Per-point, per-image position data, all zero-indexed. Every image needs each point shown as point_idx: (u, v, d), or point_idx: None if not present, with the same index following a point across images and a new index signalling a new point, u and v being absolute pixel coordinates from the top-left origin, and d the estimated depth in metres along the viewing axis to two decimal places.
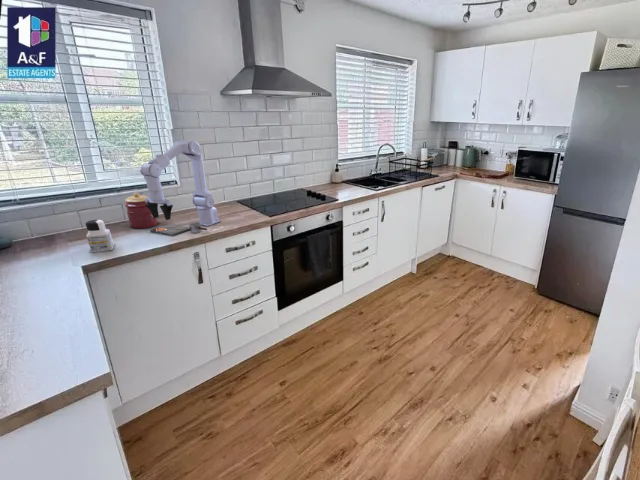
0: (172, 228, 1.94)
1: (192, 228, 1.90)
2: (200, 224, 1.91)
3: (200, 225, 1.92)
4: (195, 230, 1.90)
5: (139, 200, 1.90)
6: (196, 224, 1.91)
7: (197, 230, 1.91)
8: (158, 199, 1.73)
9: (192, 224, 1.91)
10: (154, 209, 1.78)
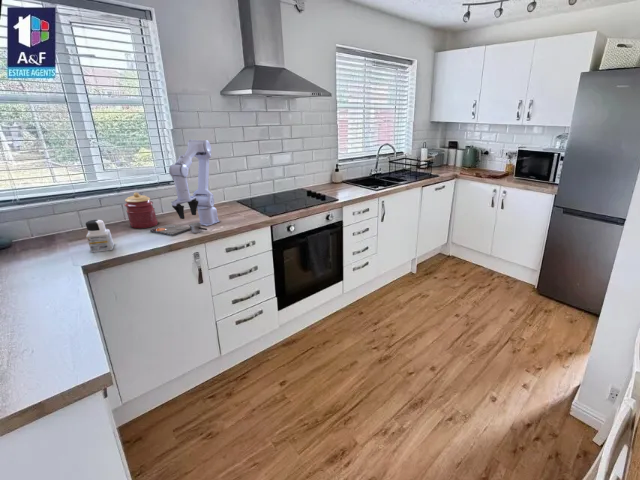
0: (172, 228, 1.94)
1: (192, 228, 1.90)
2: (200, 224, 1.91)
3: (200, 225, 1.92)
4: (195, 230, 1.90)
5: (139, 200, 1.90)
6: (196, 224, 1.91)
7: (197, 230, 1.91)
8: (177, 198, 1.82)
9: (192, 224, 1.91)
10: (191, 207, 1.89)
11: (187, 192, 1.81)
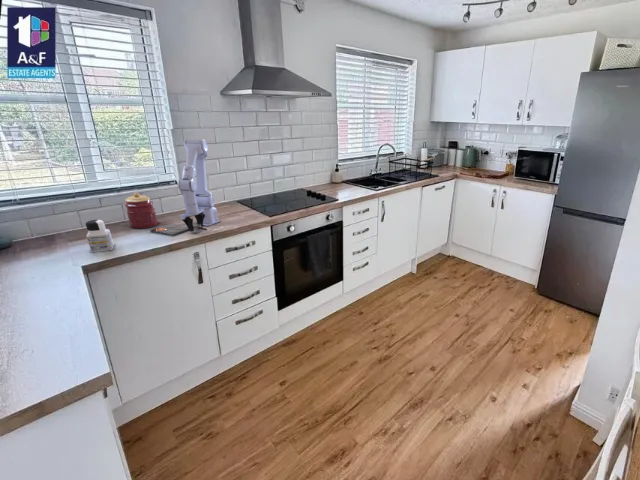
0: (172, 228, 1.94)
1: None
2: (200, 224, 1.91)
3: (200, 225, 1.92)
4: (195, 230, 1.90)
5: (139, 200, 1.90)
6: (196, 224, 1.91)
7: (197, 230, 1.91)
8: (186, 211, 1.86)
9: None
10: (198, 220, 1.93)
11: (195, 206, 1.86)
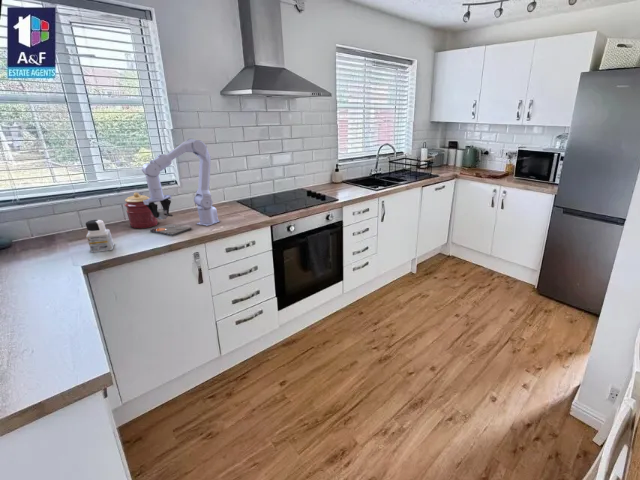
0: (172, 228, 1.94)
1: None
2: (166, 210, 1.87)
3: (166, 211, 1.88)
4: (160, 217, 1.86)
5: (139, 200, 1.90)
6: (161, 210, 1.87)
7: (162, 216, 1.86)
8: (150, 197, 1.82)
9: (157, 210, 1.86)
10: (164, 206, 1.89)
11: (160, 191, 1.82)
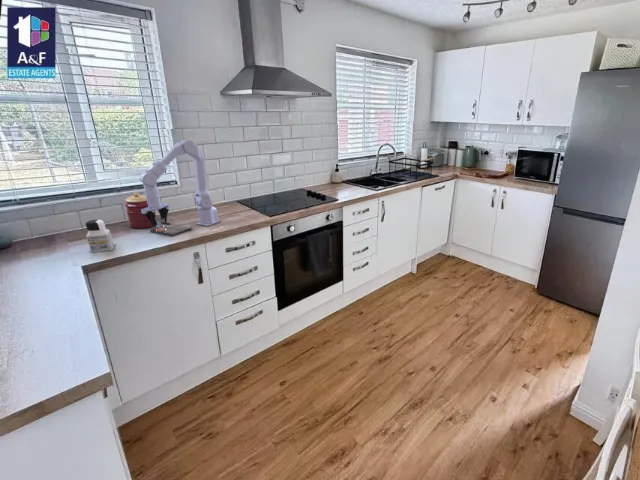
0: (172, 228, 1.94)
1: None
2: (163, 219, 1.89)
3: (163, 220, 1.89)
4: (158, 225, 1.88)
5: (139, 200, 1.90)
6: (159, 219, 1.89)
7: (160, 225, 1.88)
8: (148, 205, 1.84)
9: (155, 219, 1.88)
10: (162, 215, 1.91)
11: (157, 200, 1.84)
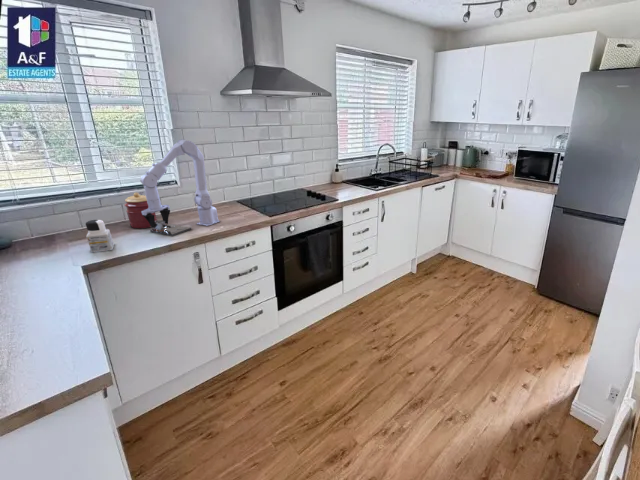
0: (172, 228, 1.94)
1: (156, 225, 1.88)
2: (164, 221, 1.90)
3: (164, 222, 1.90)
4: (158, 228, 1.89)
5: (139, 200, 1.90)
6: (160, 221, 1.89)
7: (161, 227, 1.89)
8: (148, 207, 1.85)
9: (156, 221, 1.89)
10: (163, 216, 1.92)
11: (158, 201, 1.84)
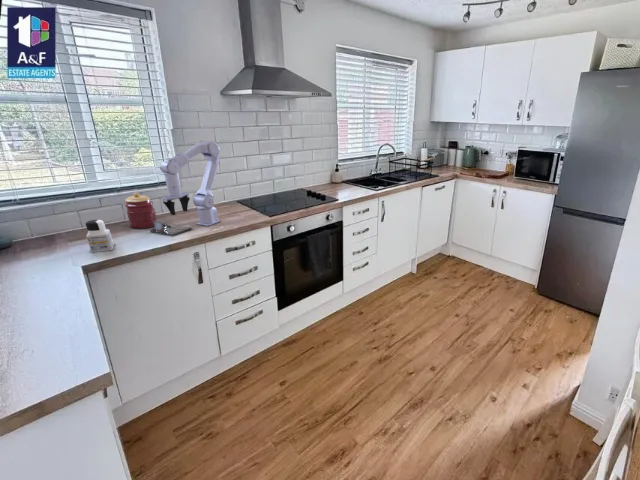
0: (172, 228, 1.94)
1: (156, 225, 1.88)
2: (164, 221, 1.90)
3: (164, 222, 1.90)
4: (158, 228, 1.89)
5: (139, 200, 1.90)
6: (160, 221, 1.89)
7: (161, 227, 1.89)
8: None
9: (156, 221, 1.89)
10: (183, 203, 1.92)
11: (178, 188, 1.84)
